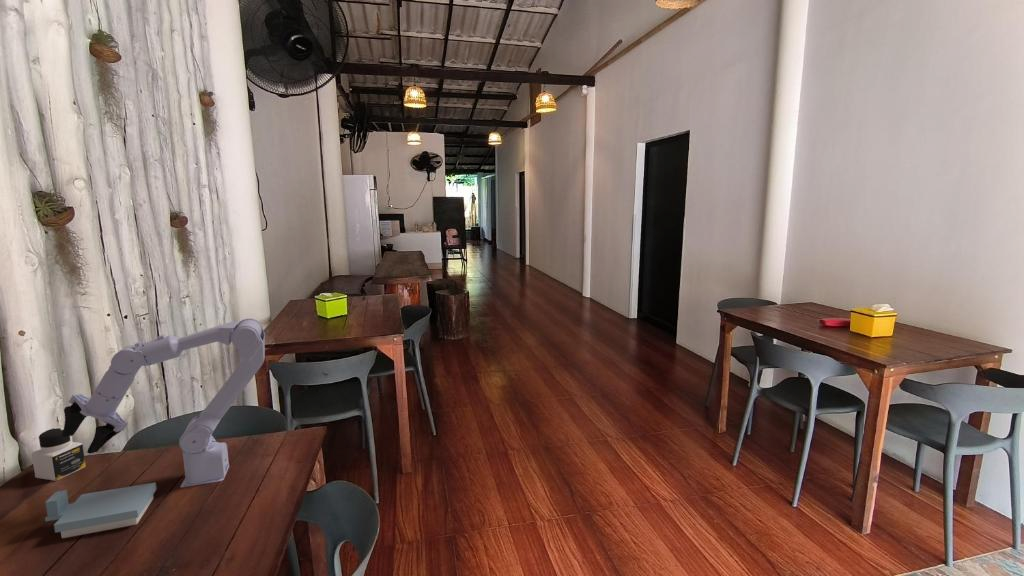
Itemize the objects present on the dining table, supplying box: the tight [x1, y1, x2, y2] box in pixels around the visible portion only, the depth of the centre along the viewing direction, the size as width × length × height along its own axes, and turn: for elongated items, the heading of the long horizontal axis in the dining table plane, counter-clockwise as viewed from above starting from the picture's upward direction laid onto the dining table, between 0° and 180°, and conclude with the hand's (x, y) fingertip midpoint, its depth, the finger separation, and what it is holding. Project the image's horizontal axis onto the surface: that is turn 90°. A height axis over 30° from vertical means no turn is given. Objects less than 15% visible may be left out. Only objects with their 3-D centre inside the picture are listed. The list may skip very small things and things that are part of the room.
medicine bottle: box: [31, 426, 86, 482], centre depth 121 cm, size 7×7×12 cm
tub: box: [60, 494, 154, 539], centre depth 103 cm, size 13×10×4 cm
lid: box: [44, 482, 157, 533], centre depth 102 cm, size 17×11×5 cm, turn 111°
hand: (79, 443), depth 108 cm, fingers open, 7 cm apart
